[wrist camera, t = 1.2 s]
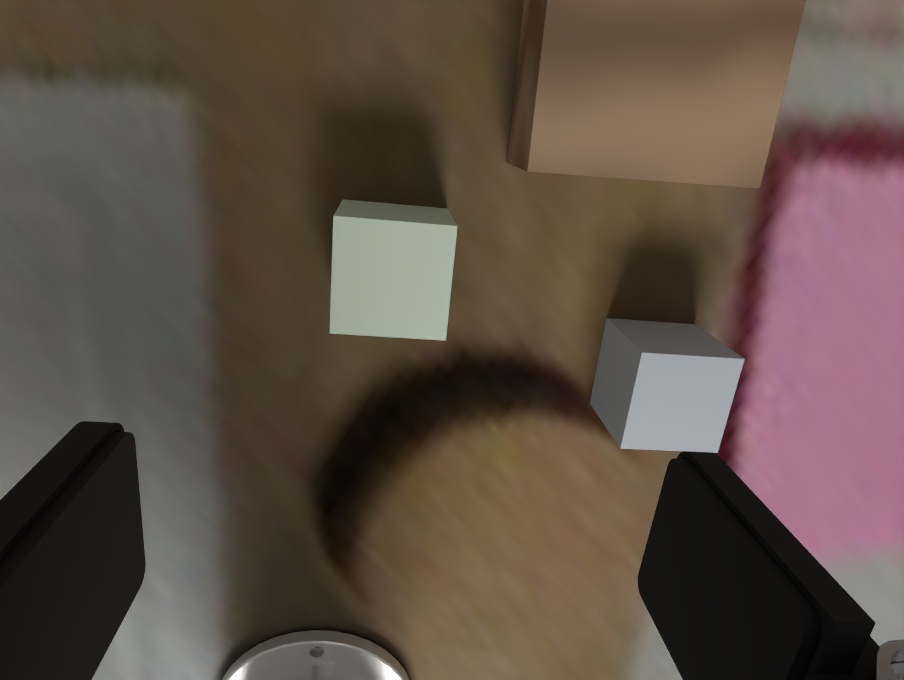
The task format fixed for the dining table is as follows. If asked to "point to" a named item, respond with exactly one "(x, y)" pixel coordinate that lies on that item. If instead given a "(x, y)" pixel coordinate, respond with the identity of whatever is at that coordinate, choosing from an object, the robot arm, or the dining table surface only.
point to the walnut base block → (651, 88)
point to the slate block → (664, 385)
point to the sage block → (391, 270)
